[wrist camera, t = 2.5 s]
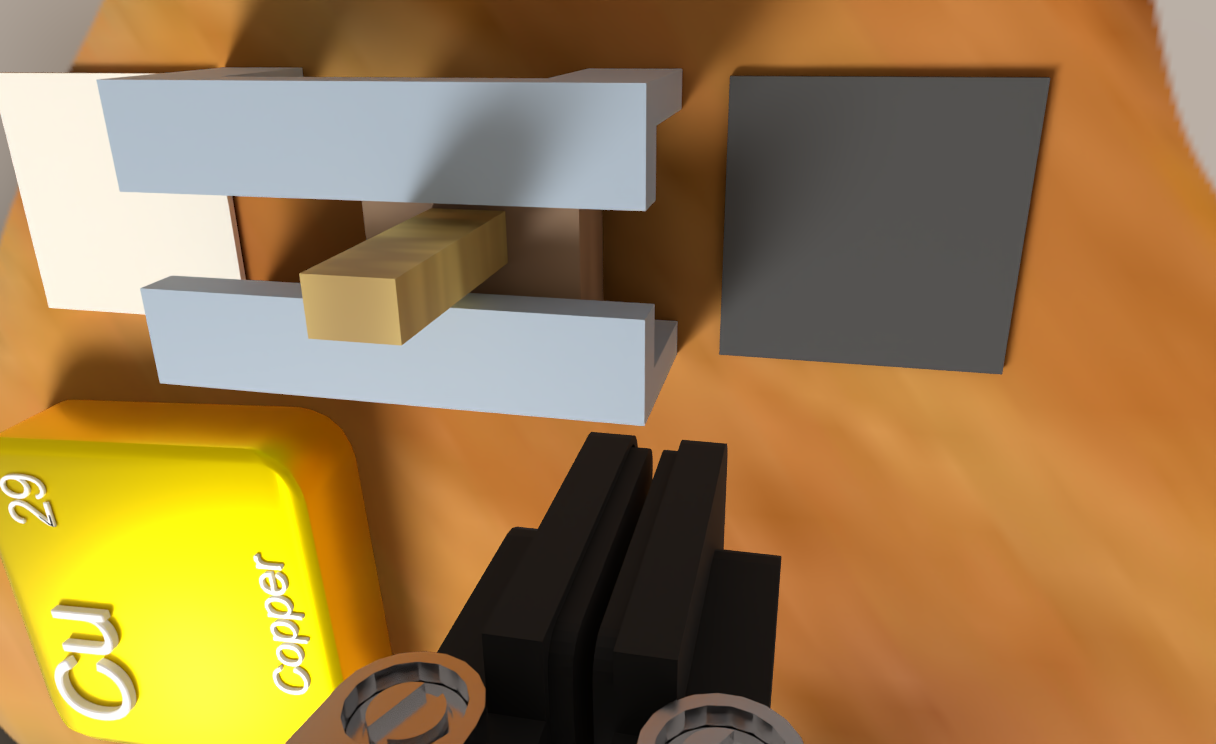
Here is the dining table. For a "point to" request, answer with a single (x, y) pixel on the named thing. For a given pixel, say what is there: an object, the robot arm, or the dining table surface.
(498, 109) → the tunnel
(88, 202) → the tile
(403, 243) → the tan boxy piece
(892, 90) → the pad
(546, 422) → the dining table surface
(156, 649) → the element tile
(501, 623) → the robot arm
